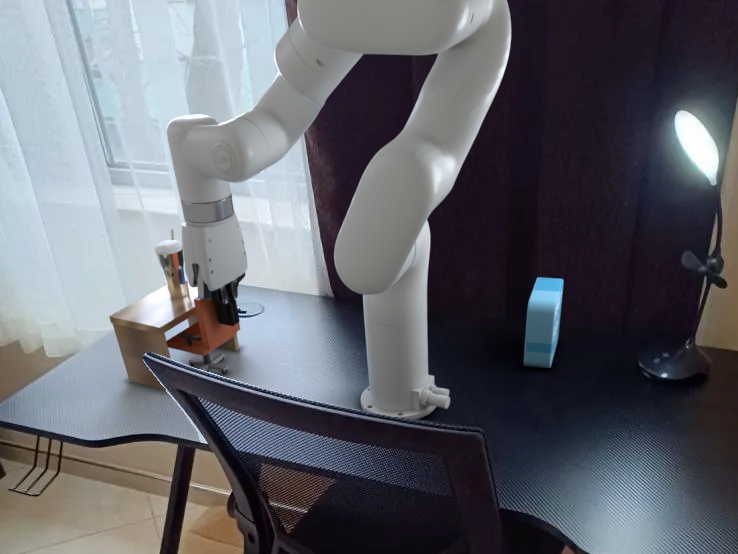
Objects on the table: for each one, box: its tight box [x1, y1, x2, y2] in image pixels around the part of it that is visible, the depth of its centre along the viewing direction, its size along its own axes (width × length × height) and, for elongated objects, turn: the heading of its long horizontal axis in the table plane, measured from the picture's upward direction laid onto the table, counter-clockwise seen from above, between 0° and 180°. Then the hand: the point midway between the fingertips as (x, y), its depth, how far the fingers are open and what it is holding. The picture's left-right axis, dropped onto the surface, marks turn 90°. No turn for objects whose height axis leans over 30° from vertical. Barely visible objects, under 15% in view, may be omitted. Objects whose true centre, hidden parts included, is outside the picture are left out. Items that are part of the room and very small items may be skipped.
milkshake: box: [154, 228, 189, 298], centre depth 132 cm, size 4×5×10 cm
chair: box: [166, 290, 241, 375], centre depth 133 cm, size 9×9×15 cm
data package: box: [523, 276, 565, 369], centre depth 134 cm, size 12×4×12 cm, turn 164°
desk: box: [108, 279, 240, 392], centre depth 137 cm, size 11×18×12 cm, turn 152°
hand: (229, 322), depth 129 cm, fingers closed
